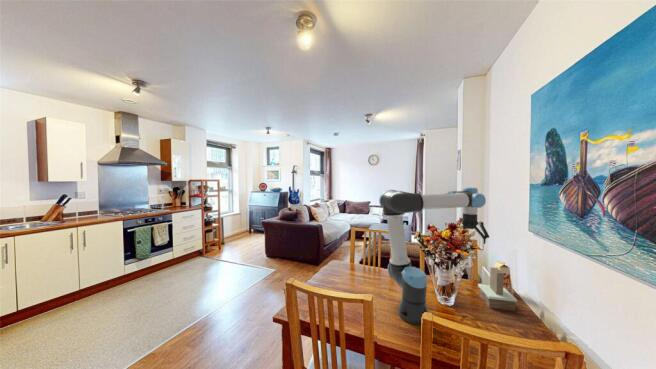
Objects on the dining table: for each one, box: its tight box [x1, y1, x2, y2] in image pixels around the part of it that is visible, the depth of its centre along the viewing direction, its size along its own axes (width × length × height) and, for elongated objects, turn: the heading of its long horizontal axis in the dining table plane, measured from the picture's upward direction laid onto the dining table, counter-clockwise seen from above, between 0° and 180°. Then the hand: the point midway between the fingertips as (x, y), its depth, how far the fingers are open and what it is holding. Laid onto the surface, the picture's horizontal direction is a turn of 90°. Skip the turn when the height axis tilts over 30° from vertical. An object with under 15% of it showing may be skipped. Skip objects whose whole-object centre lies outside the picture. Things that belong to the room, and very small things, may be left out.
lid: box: [477, 266, 518, 303], centre depth 129 cm, size 15×13×13 cm
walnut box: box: [478, 286, 516, 312], centre depth 129 cm, size 14×12×6 cm
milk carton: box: [493, 260, 514, 296], centre depth 141 cm, size 9×9×20 cm
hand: (469, 248), depth 137 cm, fingers open, 13 cm apart
